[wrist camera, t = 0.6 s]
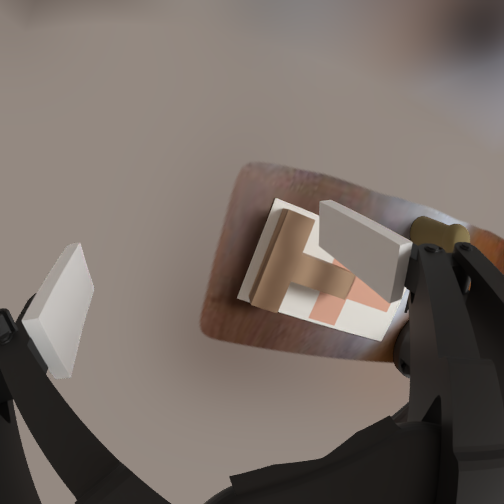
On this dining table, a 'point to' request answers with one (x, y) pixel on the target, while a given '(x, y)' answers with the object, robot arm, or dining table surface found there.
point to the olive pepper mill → (438, 233)
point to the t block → (294, 265)
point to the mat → (316, 302)
